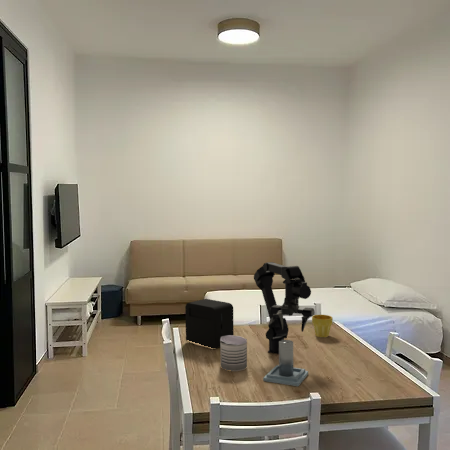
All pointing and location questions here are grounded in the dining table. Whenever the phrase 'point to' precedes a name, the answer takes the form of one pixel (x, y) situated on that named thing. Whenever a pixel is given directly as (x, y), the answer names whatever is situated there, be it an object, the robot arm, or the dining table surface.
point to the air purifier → (208, 321)
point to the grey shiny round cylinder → (286, 358)
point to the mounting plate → (292, 380)
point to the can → (233, 352)
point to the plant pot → (322, 325)
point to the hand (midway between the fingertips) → (292, 330)
